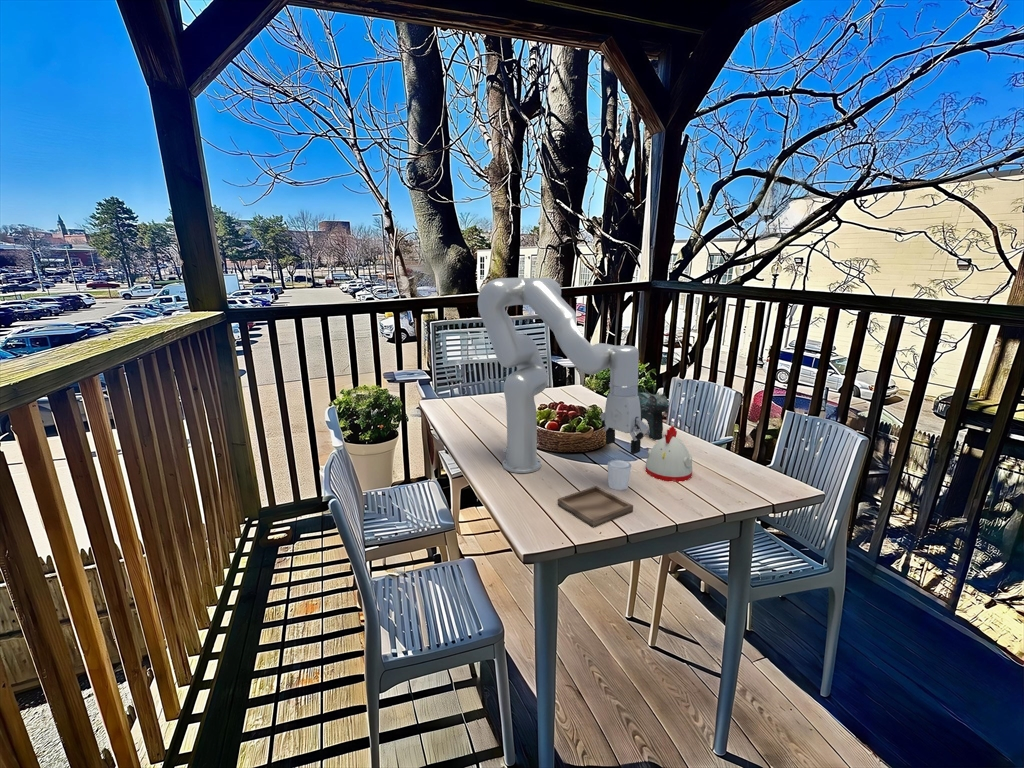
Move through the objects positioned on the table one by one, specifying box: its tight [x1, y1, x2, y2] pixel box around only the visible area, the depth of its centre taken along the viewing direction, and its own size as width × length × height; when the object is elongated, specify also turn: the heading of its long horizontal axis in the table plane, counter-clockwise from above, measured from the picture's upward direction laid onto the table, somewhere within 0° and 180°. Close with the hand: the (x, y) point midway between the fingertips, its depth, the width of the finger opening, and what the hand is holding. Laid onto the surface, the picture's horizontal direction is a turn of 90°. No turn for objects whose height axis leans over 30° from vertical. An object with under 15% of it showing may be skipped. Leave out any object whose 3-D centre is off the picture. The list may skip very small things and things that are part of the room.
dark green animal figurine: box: [638, 383, 669, 441], centre depth 182 cm, size 20×6×20 cm, turn 14°
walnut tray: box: [557, 485, 634, 528], centre depth 127 cm, size 14×14×2 cm
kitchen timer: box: [645, 425, 693, 483], centre depth 148 cm, size 14×14×15 cm
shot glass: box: [607, 459, 632, 491], centre depth 139 cm, size 7×7×7 cm
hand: (622, 447), depth 137 cm, fingers open, 9 cm apart
